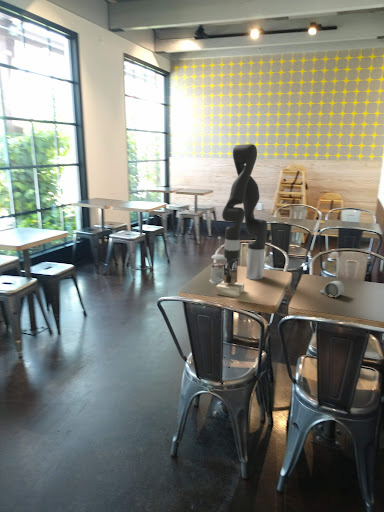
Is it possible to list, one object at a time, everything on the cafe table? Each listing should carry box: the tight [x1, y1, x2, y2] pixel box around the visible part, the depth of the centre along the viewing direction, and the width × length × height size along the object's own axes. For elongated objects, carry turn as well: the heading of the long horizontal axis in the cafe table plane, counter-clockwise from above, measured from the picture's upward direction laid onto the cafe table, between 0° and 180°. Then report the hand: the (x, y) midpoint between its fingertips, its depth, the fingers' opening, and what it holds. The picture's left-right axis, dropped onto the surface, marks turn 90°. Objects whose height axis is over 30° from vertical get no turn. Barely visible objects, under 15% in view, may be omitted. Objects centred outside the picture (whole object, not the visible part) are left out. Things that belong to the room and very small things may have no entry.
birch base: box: [215, 281, 245, 298], centre depth 192 cm, size 11×11×4 cm
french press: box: [208, 236, 227, 285], centre depth 206 cm, size 10×12×25 cm
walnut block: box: [224, 269, 238, 284], centre depth 190 cm, size 5×5×6 cm
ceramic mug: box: [319, 280, 345, 298], centre depth 190 cm, size 11×8×8 cm
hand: (230, 280), depth 191 cm, fingers closed on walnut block, 5 cm apart
